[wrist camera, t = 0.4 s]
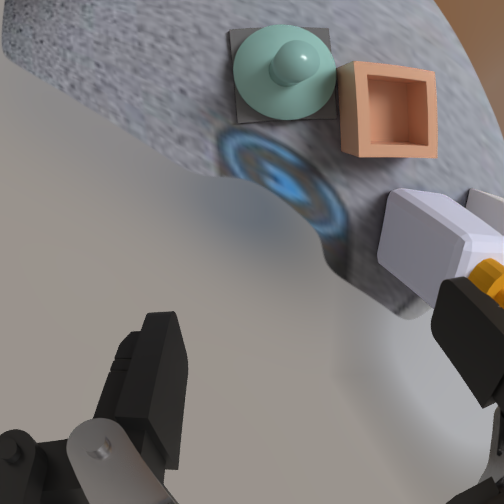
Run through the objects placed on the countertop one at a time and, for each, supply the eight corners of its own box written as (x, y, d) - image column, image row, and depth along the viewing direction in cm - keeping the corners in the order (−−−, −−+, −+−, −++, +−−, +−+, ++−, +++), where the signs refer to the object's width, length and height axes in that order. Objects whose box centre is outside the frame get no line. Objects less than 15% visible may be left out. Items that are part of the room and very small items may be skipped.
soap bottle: (453, 263, 38) (557, 360, 17) (370, 261, 37) (474, 394, 16) (470, 197, 34) (598, 271, 14) (385, 184, 33) (533, 274, 13)
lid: (229, 29, 25) (228, 6, 19) (328, 28, 25) (352, 8, 19) (237, 123, 29) (239, 123, 23) (336, 118, 29) (362, 119, 23)
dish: (336, 68, 28) (353, 60, 23) (410, 75, 28) (434, 71, 23) (341, 151, 31) (358, 157, 27) (412, 151, 31) (437, 158, 27)
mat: (229, 30, 26) (229, 29, 25) (327, 29, 26) (328, 28, 25) (237, 123, 30) (237, 123, 29) (335, 118, 30) (336, 118, 29)
